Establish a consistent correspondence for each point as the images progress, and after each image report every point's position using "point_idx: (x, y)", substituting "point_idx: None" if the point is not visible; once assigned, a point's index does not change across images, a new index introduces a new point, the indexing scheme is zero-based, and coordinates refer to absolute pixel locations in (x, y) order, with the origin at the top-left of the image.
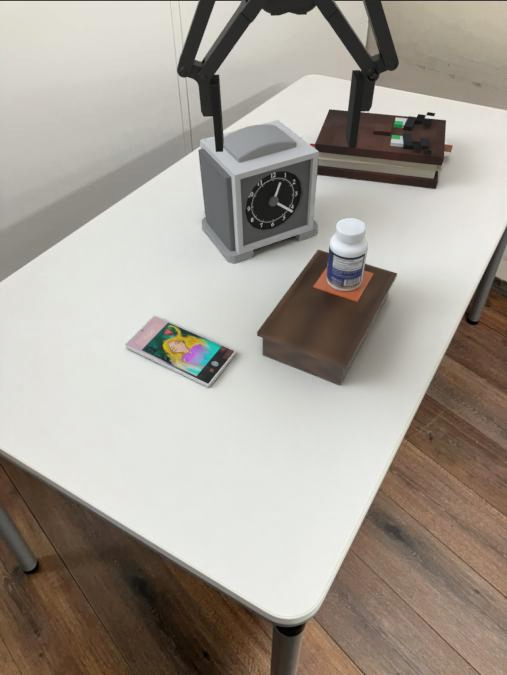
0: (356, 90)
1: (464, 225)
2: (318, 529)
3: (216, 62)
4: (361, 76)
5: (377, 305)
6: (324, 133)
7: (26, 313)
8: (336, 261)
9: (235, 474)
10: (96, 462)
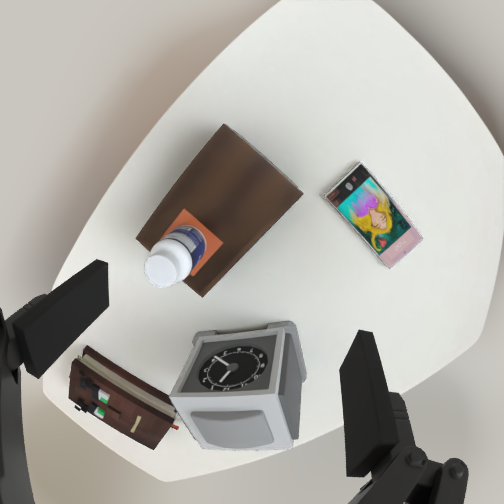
0: (34, 317)
1: None
2: (297, 11)
3: (385, 491)
4: (19, 345)
5: (166, 198)
6: (161, 430)
7: (477, 304)
8: (190, 246)
9: (353, 67)
10: (457, 122)
